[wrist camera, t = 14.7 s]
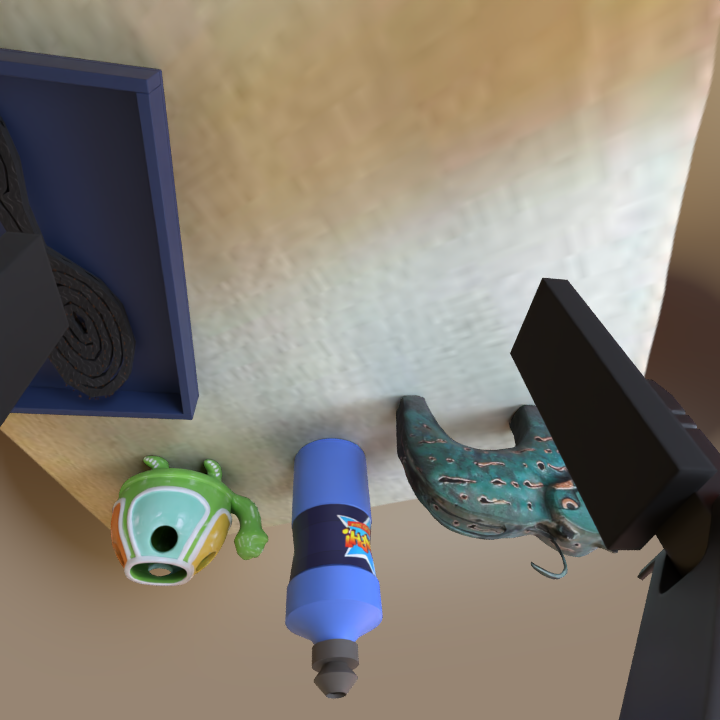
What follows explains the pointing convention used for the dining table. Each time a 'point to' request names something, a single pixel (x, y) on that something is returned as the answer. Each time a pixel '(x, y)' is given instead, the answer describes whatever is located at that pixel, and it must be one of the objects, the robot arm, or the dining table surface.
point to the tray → (106, 218)
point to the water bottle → (332, 560)
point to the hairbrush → (72, 297)
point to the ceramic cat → (496, 483)
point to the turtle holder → (179, 522)
